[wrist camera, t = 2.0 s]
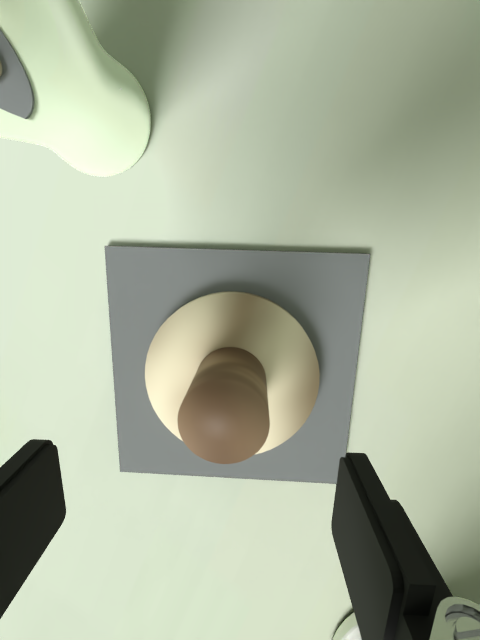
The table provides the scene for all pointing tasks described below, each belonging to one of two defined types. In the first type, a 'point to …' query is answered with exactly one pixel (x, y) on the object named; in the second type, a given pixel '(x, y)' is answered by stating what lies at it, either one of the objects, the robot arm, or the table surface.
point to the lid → (232, 375)
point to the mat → (251, 277)
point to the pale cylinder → (68, 89)
